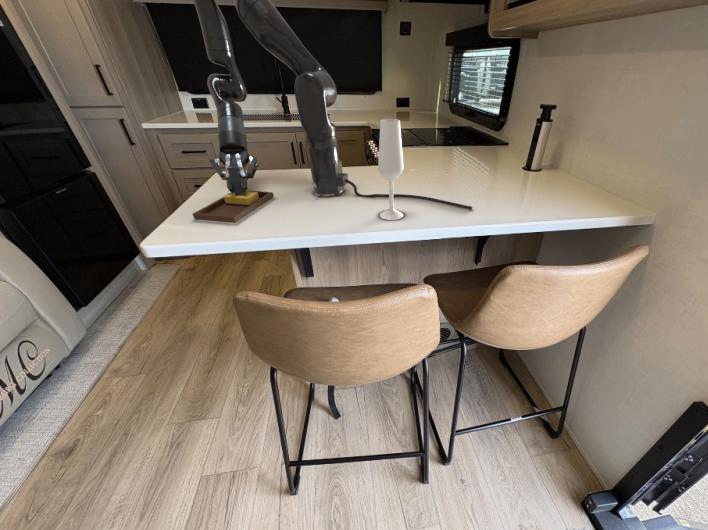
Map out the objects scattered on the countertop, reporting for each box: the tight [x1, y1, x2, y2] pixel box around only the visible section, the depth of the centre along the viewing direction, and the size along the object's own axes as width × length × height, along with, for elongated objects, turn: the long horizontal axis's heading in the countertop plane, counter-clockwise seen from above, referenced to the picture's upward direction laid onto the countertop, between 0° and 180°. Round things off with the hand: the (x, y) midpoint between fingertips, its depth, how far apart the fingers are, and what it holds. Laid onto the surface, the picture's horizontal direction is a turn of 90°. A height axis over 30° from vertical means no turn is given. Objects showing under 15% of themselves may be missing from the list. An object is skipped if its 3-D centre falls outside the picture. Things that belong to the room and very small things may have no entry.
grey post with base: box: [222, 165, 259, 207], centre depth 97 cm, size 8×6×11 cm
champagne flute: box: [377, 118, 404, 221], centre depth 87 cm, size 7×7×24 cm
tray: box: [192, 190, 275, 224], centre depth 97 cm, size 13×21×2 cm, turn 168°
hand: (238, 191), depth 96 cm, fingers closed on grey post with base, 2 cm apart
